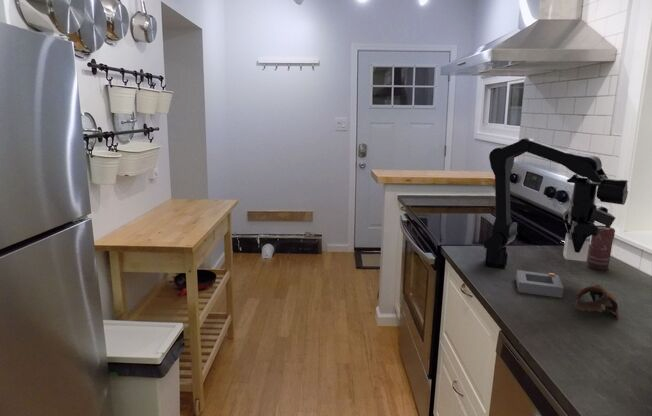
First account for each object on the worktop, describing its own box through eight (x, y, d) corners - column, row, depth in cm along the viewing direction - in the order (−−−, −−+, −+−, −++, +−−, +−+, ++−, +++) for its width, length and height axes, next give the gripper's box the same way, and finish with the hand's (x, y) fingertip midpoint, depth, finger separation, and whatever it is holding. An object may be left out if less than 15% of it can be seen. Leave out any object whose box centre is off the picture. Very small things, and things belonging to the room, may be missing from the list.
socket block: (518, 291, 132) (519, 280, 131) (516, 279, 142) (517, 268, 141) (562, 297, 128) (563, 286, 128) (557, 284, 138) (558, 273, 137)
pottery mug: (624, 326, 113) (613, 300, 111) (583, 333, 118) (571, 308, 117) (618, 297, 123) (607, 273, 121) (580, 304, 128) (569, 281, 126)
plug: (565, 259, 136) (568, 236, 134) (563, 254, 140) (566, 232, 138) (586, 261, 134) (590, 238, 132) (583, 256, 138) (586, 234, 136)
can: (612, 271, 150) (618, 230, 146) (590, 269, 151) (597, 229, 148) (604, 265, 155) (611, 225, 152) (584, 263, 157) (590, 224, 154)
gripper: (624, 208, 121) (614, 263, 125) (606, 195, 139) (598, 244, 142) (577, 204, 125) (569, 258, 128) (566, 192, 142) (559, 240, 146)
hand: (575, 250), depth 136 cm, fingers closed on plug, 4 cm apart
